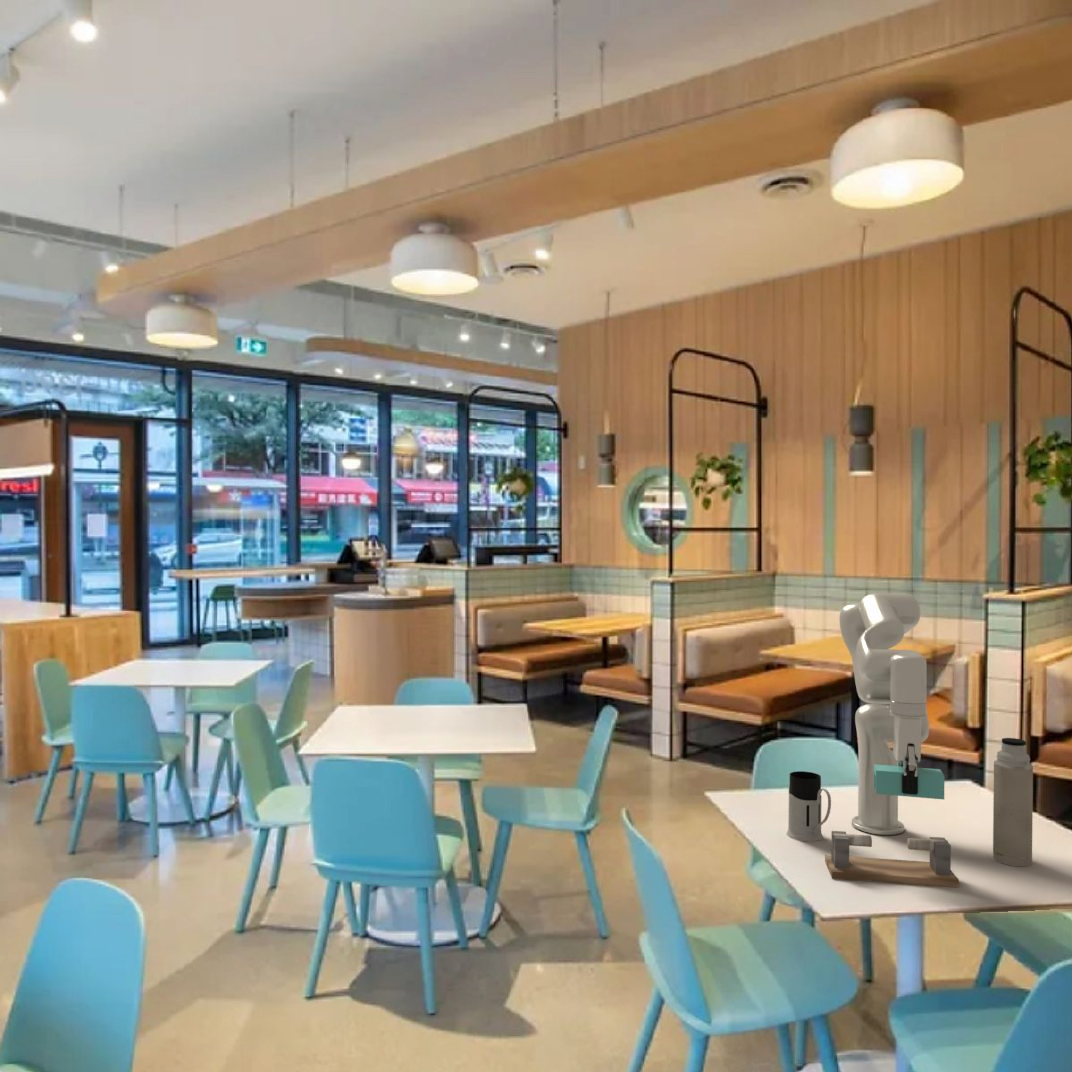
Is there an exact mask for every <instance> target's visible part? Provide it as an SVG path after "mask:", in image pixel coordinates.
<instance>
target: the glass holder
mask: <svg viewBox="0 0 1072 1072" xmlns="http://www.w3.org/2000/svg"><path fill="white" fill-rule="evenodd" d="M821 786H822V777H821V774H818V773H815V772H811V771H802V770H799V771H791V772H790V773H789V786H788V829H787V831H786V836H787V837H789V838H790V839H793V840H797V841H800V842H801V841H802V842H818V841H822V840H823V839H824V835H823V833H822V825H824V824H825V823H826V822H827V820H828V818H829V817H830V814H831V809H832V808H831V807H832V797H831V793H830V792H829V791H828V790H827V788H823V787H821ZM822 791H824V792H825V794H826V796H827V809H826V814H825V817H824V819H823V820H822Z"/></svg>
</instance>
